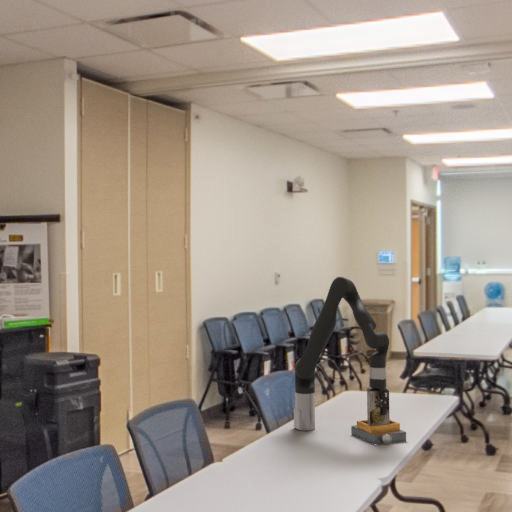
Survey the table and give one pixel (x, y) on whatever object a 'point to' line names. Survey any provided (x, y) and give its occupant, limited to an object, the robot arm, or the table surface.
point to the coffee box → (376, 408)
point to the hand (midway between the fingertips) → (377, 413)
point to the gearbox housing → (379, 432)
